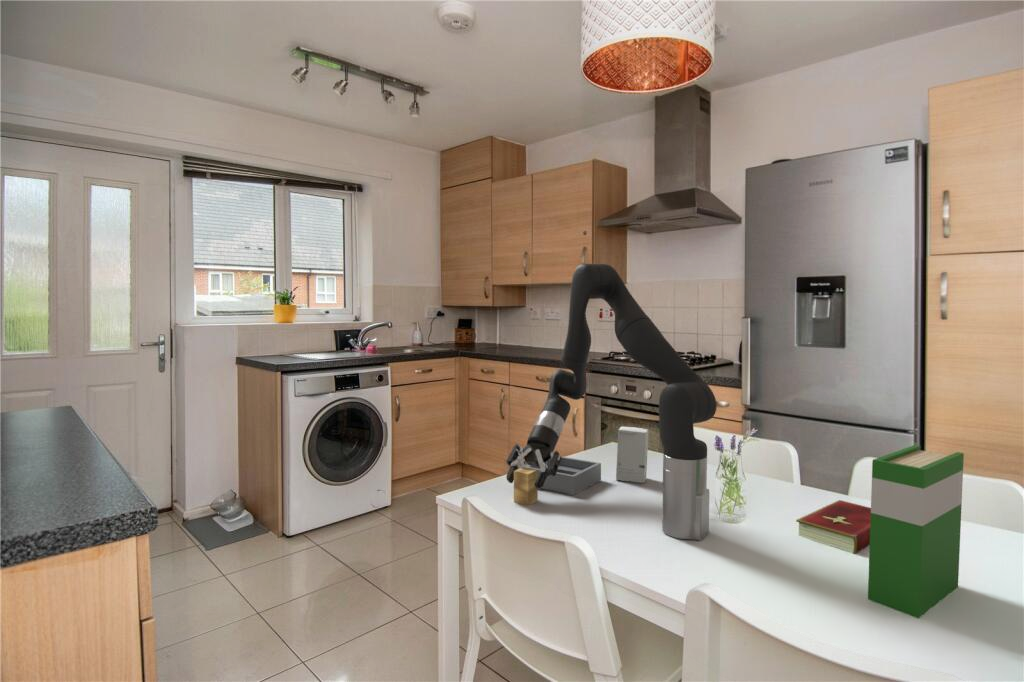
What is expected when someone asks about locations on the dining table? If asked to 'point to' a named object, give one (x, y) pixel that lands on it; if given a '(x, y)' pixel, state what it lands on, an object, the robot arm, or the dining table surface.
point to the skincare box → (632, 454)
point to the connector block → (525, 486)
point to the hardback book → (915, 529)
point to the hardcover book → (838, 526)
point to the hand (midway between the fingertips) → (522, 484)
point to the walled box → (571, 475)
